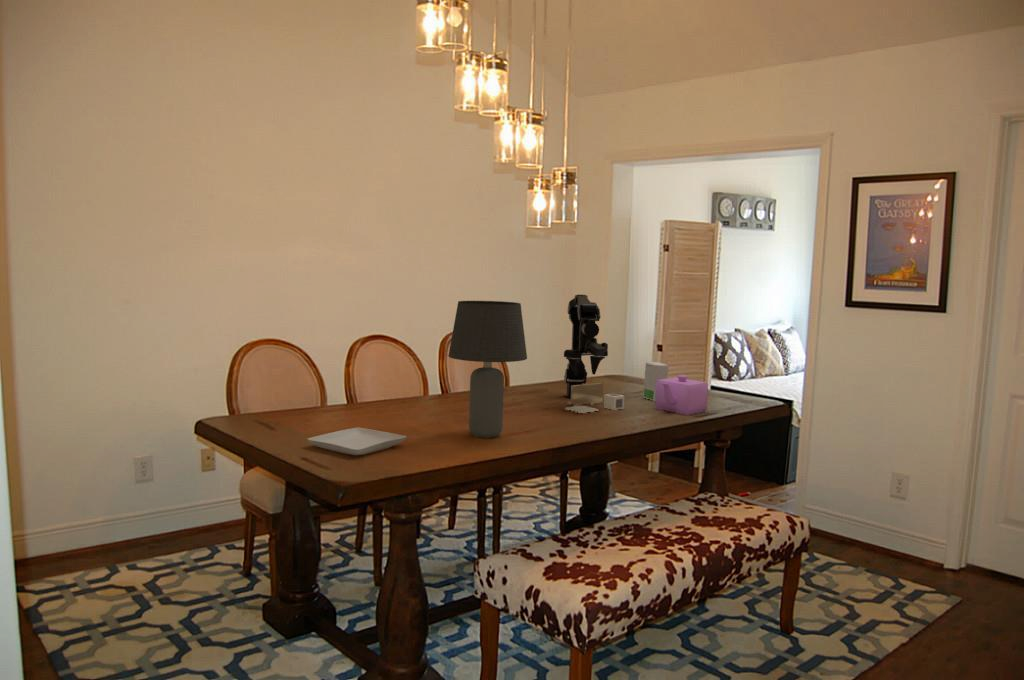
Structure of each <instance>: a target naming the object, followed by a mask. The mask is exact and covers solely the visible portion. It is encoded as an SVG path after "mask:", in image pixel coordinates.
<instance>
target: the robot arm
mask: <svg viewBox="0 0 1024 680" xmlns="http://www.w3.org/2000/svg"><path fill="white" fill-rule="evenodd" d="M567 314H568V319H569V321H570V322H571V324H572V329H571V349H565V350H564V351H563V357H564V358H565V359H566V360H568V362H567V364H566V368H565V371H564V372H565V373H564V376H563V377H564V380H563V381H564V383H565V384H566V394H563V397H565V398H570V399H571V386H572V385H583V384H587V378H588V372H587V370H586V366H585V363H584V362H583V359H582V357H583V356H589V359H590V366H591V367H590V368H591V374H592V375H596V372H597V370H598V369H599V365H600V363H601V361H603V359H606V357H609V356H608V355H609V351H608V350H609V344H608V343H607V342H602V343H598V339H597V336H598V335H599V332H600V327H599V325H598V324H597V323H596V322H600V319H601V311H600V308H599V305H598V304H597V302H593V301H590V300H589V296H588V295H587V294H575V295H574V297H573V298H572V299H571V300H569V302H568V305H567Z"/></svg>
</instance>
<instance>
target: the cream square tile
mask: <svg viewBox="0 0 1024 680" xmlns="http://www.w3.org/2000/svg"><path fill="white" fill-rule="evenodd" d="M565 410H566V411H569V410H571V411H570V412H573V411H575V412H574V413H577V412H578V414H580V413H583V414H588V413H587V412H591V413H595V412H594V411H599V410H600V409H597V408H596V407H595V408H594V407H591V406H588V405H580V406H568V407H567V406H566V407H565ZM599 412H600V411H599Z"/></svg>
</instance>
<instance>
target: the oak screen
mask: <svg viewBox="0 0 1024 680" xmlns="http://www.w3.org/2000/svg"><path fill="white" fill-rule="evenodd" d="M603 396H604V383H603V382H596V383H595V382H593V383H585V384H584V383H582V385H572V386H571V398H570V401H568V402H567V406H571V405H573V406H572V407H575V406H584V405H583V404H587V405H588V404H595V403H596V404H602V403H603V402H604V397H603ZM601 402H602V403H601Z"/></svg>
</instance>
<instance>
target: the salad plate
mask: <svg viewBox="0 0 1024 680" xmlns="http://www.w3.org/2000/svg"><path fill="white" fill-rule="evenodd" d="M406 439H407V435H402V434H397V433H393V432H388V431H381V430H375V429H369V428H365V427H352V428H346V429H341V430H337V431H334V432H333V431H332V432H328V433H324V434H320V435H317V436H311V437H308V438H306V440H307V442H309V443H310V444H311V445H313V446H315V447H317V448H320V449H323V450H327V451H333V452H336V453H342V454H345V455H351V456H363V455H367V454H371V453H375V452H378V451H382V450H385V449H389V448H391V447H394V446H397V445H399V444H400V443H402V442H404V441H405V440H406Z"/></svg>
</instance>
